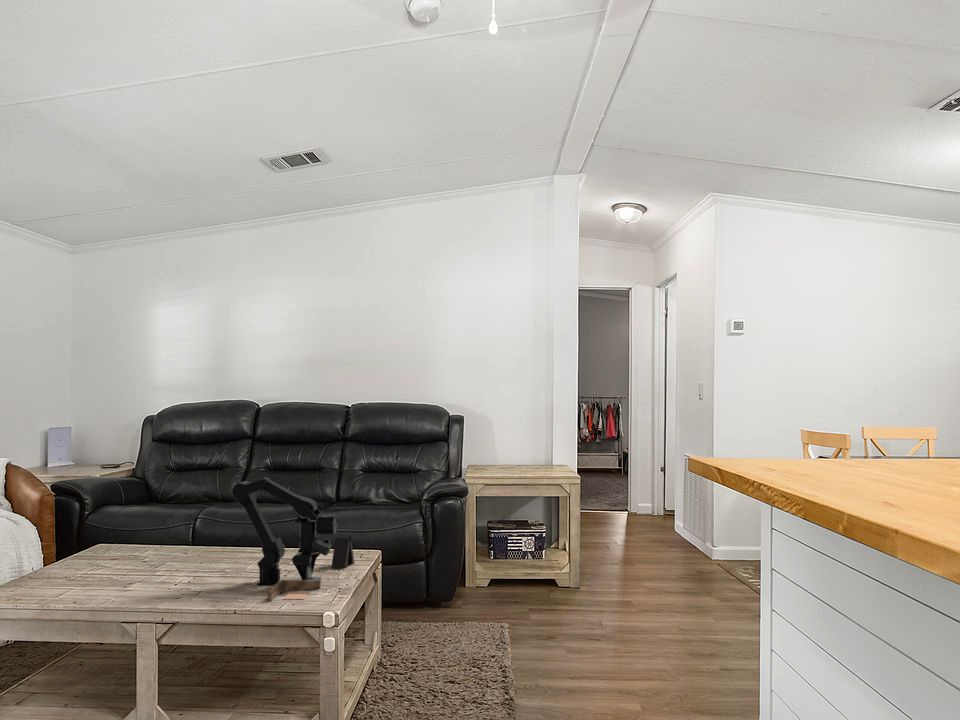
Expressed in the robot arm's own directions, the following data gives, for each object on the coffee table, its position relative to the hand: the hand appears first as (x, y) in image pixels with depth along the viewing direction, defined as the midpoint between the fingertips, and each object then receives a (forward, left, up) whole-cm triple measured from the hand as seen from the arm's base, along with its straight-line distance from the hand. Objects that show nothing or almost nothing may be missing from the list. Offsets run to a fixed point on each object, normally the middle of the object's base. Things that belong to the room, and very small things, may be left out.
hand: (307, 577), depth 250 cm
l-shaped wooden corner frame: (0, -15, -2) cm, 15 cm away
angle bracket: (+2, 0, -2) cm, 3 cm away
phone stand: (+8, +24, -2) cm, 25 cm away
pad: (+1, -16, -2) cm, 16 cm away
